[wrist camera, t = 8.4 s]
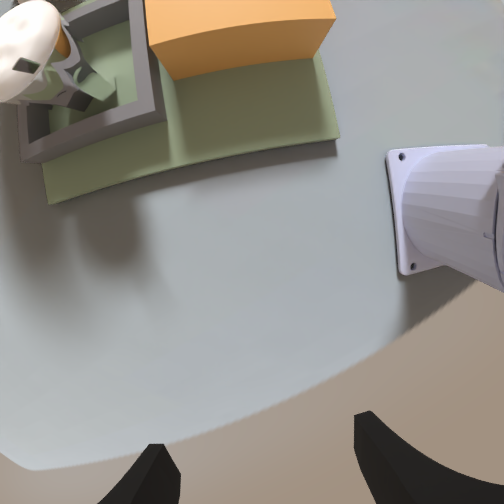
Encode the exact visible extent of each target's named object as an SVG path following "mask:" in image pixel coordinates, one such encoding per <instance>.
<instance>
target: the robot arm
mask: <svg viewBox="0 0 504 504" xmlns="http://www.w3.org/2000/svg"><path fill="white" fill-rule="evenodd" d="M399 153H400V154H401V155H402V157H403V159H402V161H400V160H399V158H398V155H399ZM386 162H387V168H388V175H389V181H390V188H391V195H392V203H393V211H394V220H395V230H396V241H397V254H398V269H399V272H400V273H401V274H403V275H411V274H414V273H418V272H422V271H426V270H429V269H433V268H437V267H440V266H444V265H447V266H449V267H451V268H453V269H455V270H458V271H460V272H462V273H464V274H466V275H468V276H470V277H472V278H475V279H477V280H479V281H481V282H483V283H485V284H487V285H489V286H491V287H493V288H495V289H497V290H499V291H501V292H503V293H504V146H499V147H489V146H488V145H486V144H480V145H452V146H434V147H419V148H406V149H395V150H390V151H388V152H387V154H386ZM412 263H414V267H413V268H412V269H410V266H411V264H412ZM354 450H355V454H356V456H357V460H358V463H359V466H360V469H361V472H362V474H363V476H364V478H365V480H366V482H367V485H368V487H369V489H370V491H371V493H372V495H373V497H374V500H375V502H376V504H504V485H499V484H493V483H489V482H485V481H481V480H478V479H475V478H472V477H469V476H466V475H464V474H461V473H458V472H456V471H454V470H452V469H449V468H447V467H445V466H443V465H441V464H439V463H437V462H436V461H434V460H432V459H430V458H428V457H427V456H425V455H424V454H423V453H421V452H419V451H418V450H416V449H415V448H414V447H412V446H411V445H410V444H408V443H407V442H406V441H404V440H403V439H402V438H401V437H399V436H398V435H397V434H396V433H394V432H393V431H392V430H391V429H390V428H389V427H387V426H386V425H385V424H384V423H383V422H382V421H381V420H380V419H379V418H378V417H377V416H376V415H375V414H374V413H373V412H371V411H367V412H363V413H360V414H357V415H354ZM180 482H181V473H180V472H179V470H178V468H177V467H176V465H175V463H174V462H173V460H172V458H171V456H170V455H169V453H168V451H167V449H166V447H165V446H164V444H149V445H148V446H147V448H146V449H145V450H144V451H143V453H142V454H141V455H140V457H139V458H138V459H137V460H136V462H135V463H134V464H133V465H132V467H131V468H130V469H129V470H128V472H127V473H126V474H125V475H124V476H123V478H122V479H121V480H120V481H119V482H118V483H117V484H116V486H115V487H114V488H113V489H112V490H111V491H110V492H109V493H108V494H107V495H106V496H105V497H104V498H103V499H102V500H101V501H100V502H99V503H98V504H178V503H179V497H180Z"/></svg>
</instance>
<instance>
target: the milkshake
mask: <svg viewBox="0 0 504 504" xmlns="http://www.w3.org/2000/svg"><path fill="white" fill-rule="evenodd" d="M115 91H116V85H115V77H114V74H113V73H112V72H111V71H110V70H109V69H108V67H107V66H106V65H105V64H104V63H103V62H102V61H101V60H100V59H99V58H98V57H97V55H96V54H95V53H94V52H93V51H92V50H91V49H90V48H89V47H88V46H87V45H86V43H85V42H84V41H83V40H82V39H81V38H80V37H79V35H78V34H77V33H76V32H75V31H74V29H73V28H72V27H71V26H70V24H69V23H68V22H67V21H66V20H65V18H64V17H63V16H62V15H61V14H60V12H59V11H58V10H57V9H56V8H55V7H54V6H53V5H52V4H51V3H49V2H47V1H44V0H32V1H27V2H25V3H22V4H20V5H18V6H16V7H15V8H13V9H11V10H10V11H8V12H7V13H6V14H4V15H3V16H2V17H0V103H9V104H18V105H26V106H33V107H39V108H44V109H49V110H54V111H59V112H63V113H68V114H73V115H77V116H91V115H96V114H98V113H99V112H100V111H102V110H103V109H104V108H106V107H107V106H108V105H109V104H110V102H111V99H112V97H113V95H114V93H115Z"/></svg>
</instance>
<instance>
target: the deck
mask: <svg viewBox="0 0 504 504" xmlns="http://www.w3.org/2000/svg"><path fill="white" fill-rule="evenodd" d="M60 14H61V15H62V16H63V17H64V18H65V20H66V21H67V22H68V23H69V24H70V26H71V27H72V28H73V29H74V31H75V32H76V33H77V34H78V35H79V37H80V38H81V39H82V40H83V41H84V42H85V43H86V45H87V46H88V47H89V48H90V49H91V50H92V51H93V52H94V53H95V54H96V55H97V57H98V58H99V59H100V60H101V61H102V62H103V63H104V64H105V65H106V66H107V67H108V69H109V70H110V71H111V72H112V73H113V74H114V77H115V85H116V91H115V93H114V95H113V97H112V99H111V102H110V104H109V105H108V106H107V107H106V108H104V109H103V110H102V111H100V112H99V113H98V114H96V115H91V116H77V115H73V114H68V113H63V112H59V111H54V110H49V109H44V108H39V107H33V106H26V105H18V104H17V121H18V138H19V150H20V160H21V162H29V163H42V170H43V177H44V184H45V190H46V196H47V201H48V205H51V204H57V203H60V202H63V201H66V200H69V199H72V198H75V197H78V196H81V195H84V194H87V193H90V192H93V191H96V190H99V189H103V188H106V187H109V186H113V185H116V184H120V183H123V182H126V181H130V180H134V179H137V178H141V177H145V176H148V175H152V174H156V173H160V172H164V171H168V170H172V169H176V168H180V167H184V166H188V165H193V164H197V163H202V162H206V161H211V160H216V159H220V158H225V157H230V156H235V155H240V154H246V153H251V152H257V151H262V150H268V149H274V148H280V147H286V146H293V145H300V144H307V143H314V142H322V141H330V140H336V139H338V138H340V134H339V129H338V124H337V120H336V115H335V111H334V106H333V102H332V98H331V94H330V90H329V86H328V82H327V78H326V74H325V70H324V67H323V63H322V59H321V56H320V52H319V49H318V48H319V47H320V45H321V43H322V42H323V40H324V38H325V37H326V35H327V33H328V32H329V30H330V28H331V27H332V25H333V23H334V22H335V20H336V16H335V13H334V11H333V8H332V5H331V3H330V0H88V1H85V2H83V3H81V4H79V5H77V6H75V7H72V8H70V9H68V10H66V11H64V12H62V13H60Z"/></svg>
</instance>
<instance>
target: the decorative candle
mask: <svg viewBox="0 0 504 504" xmlns="http://www.w3.org/2000/svg"><path fill="white" fill-rule="evenodd" d="M17 1H18V3H19V4H22V3H25V2H27V1H32V0H17Z"/></svg>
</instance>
